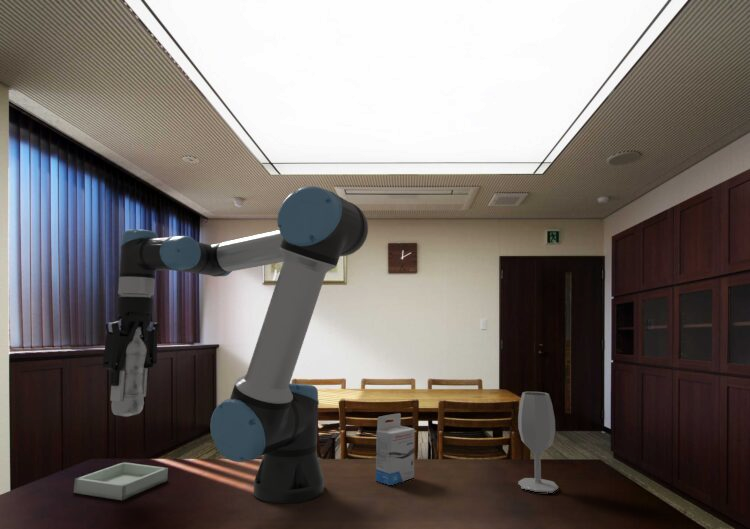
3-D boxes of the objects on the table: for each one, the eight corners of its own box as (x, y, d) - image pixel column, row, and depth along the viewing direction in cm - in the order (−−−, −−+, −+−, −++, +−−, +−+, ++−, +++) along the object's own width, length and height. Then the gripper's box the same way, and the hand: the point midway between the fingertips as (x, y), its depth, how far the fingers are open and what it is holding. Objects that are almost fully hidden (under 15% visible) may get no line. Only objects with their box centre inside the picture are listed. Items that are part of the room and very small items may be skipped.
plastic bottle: (130, 419, 104) (136, 326, 106) (103, 417, 105) (110, 326, 108) (149, 413, 110) (155, 326, 112) (123, 412, 111) (130, 326, 114)
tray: (167, 480, 110) (167, 467, 110) (121, 500, 98) (122, 486, 98) (122, 474, 114) (123, 462, 114) (73, 492, 102) (74, 478, 102)
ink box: (390, 487, 108) (390, 420, 109) (374, 481, 111) (375, 416, 113) (415, 479, 114) (415, 415, 115) (399, 474, 117) (400, 412, 119)
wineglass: (516, 491, 106) (514, 394, 108) (520, 479, 114) (518, 389, 116) (558, 497, 103) (555, 397, 105) (559, 484, 111) (556, 392, 113)
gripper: (153, 298, 121) (146, 391, 118) (87, 294, 103) (78, 404, 100) (177, 298, 119) (171, 393, 116) (115, 294, 101) (106, 406, 98)
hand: (128, 398), depth 108 cm, fingers closed on plastic bottle, 6 cm apart
